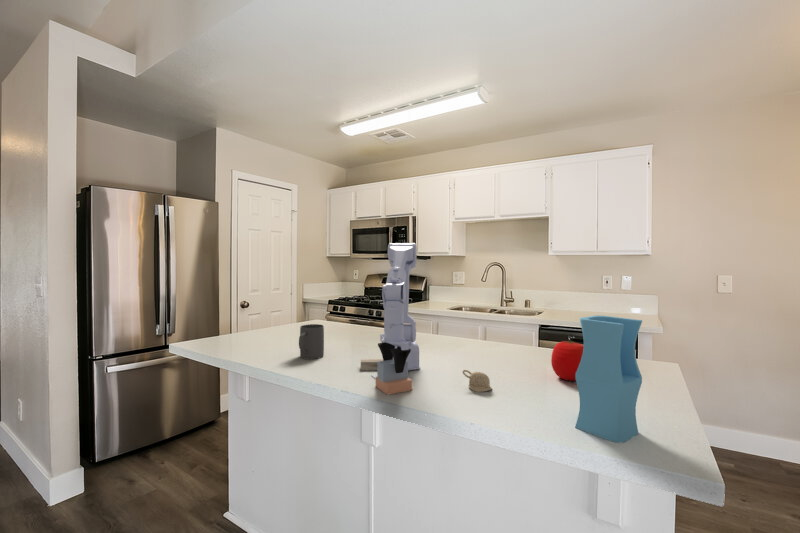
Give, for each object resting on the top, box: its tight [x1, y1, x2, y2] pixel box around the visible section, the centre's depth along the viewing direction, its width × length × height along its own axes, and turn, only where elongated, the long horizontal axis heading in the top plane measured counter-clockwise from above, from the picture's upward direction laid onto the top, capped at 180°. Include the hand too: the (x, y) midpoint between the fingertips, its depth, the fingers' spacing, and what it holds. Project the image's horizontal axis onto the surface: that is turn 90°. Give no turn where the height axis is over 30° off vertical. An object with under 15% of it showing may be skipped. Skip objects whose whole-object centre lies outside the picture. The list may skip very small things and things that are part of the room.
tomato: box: [550, 339, 584, 382], centre depth 121 cm, size 12×12×13 cm
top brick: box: [376, 359, 409, 382], centre depth 112 cm, size 8×4×5 cm, turn 118°
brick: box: [360, 358, 383, 371], centre depth 133 cm, size 4×8×3 cm, turn 94°
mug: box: [298, 323, 325, 360], centre depth 147 cm, size 14×9×12 cm
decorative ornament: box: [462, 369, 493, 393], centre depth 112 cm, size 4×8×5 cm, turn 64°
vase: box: [574, 315, 643, 444], centre depth 85 cm, size 10×10×25 cm
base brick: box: [375, 376, 413, 395], centre depth 112 cm, size 8×8×3 cm
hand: (393, 369), depth 112 cm, fingers open, 7 cm apart
